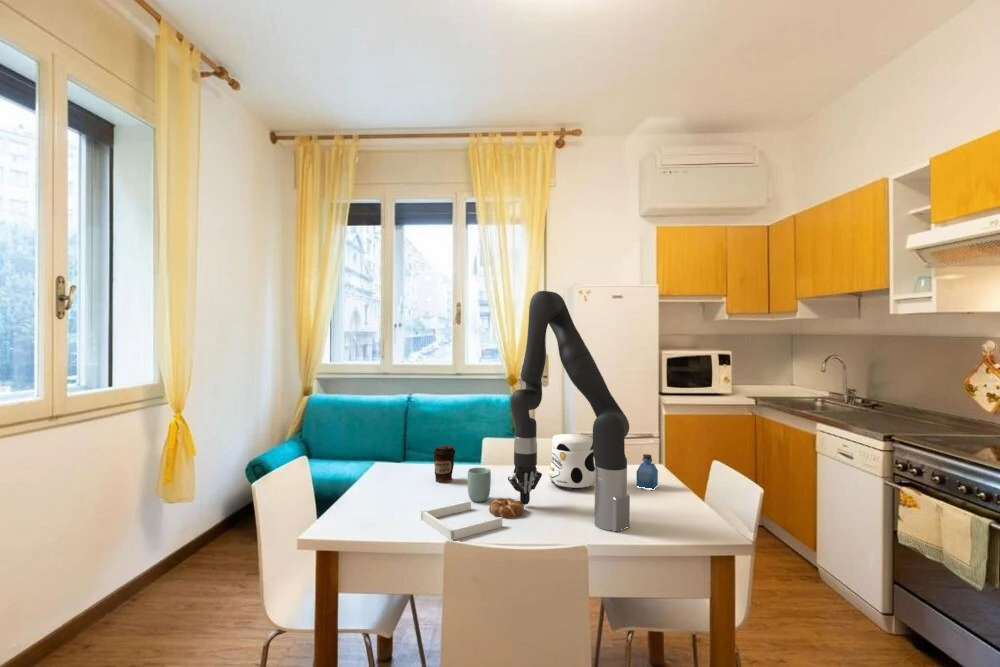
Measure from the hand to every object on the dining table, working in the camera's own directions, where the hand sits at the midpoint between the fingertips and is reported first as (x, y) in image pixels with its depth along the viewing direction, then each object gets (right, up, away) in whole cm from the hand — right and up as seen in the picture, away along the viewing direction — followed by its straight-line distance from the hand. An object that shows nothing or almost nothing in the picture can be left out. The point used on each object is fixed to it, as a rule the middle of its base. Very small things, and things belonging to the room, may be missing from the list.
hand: (524, 503), depth 152 cm
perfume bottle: (+47, -2, +22) cm, 52 cm away
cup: (-15, -1, +6) cm, 16 cm away
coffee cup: (-30, -2, +28) cm, 41 cm away
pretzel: (-6, -1, -5) cm, 8 cm away
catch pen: (-19, -1, -14) cm, 24 cm away
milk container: (+19, -2, +23) cm, 30 cm away
